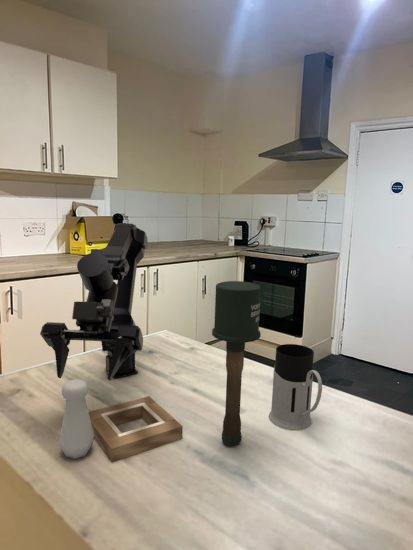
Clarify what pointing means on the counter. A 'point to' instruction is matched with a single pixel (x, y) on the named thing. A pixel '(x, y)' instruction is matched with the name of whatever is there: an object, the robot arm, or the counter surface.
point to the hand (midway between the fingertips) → (84, 378)
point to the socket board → (139, 439)
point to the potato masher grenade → (235, 344)
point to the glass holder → (293, 387)
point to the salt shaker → (76, 420)
